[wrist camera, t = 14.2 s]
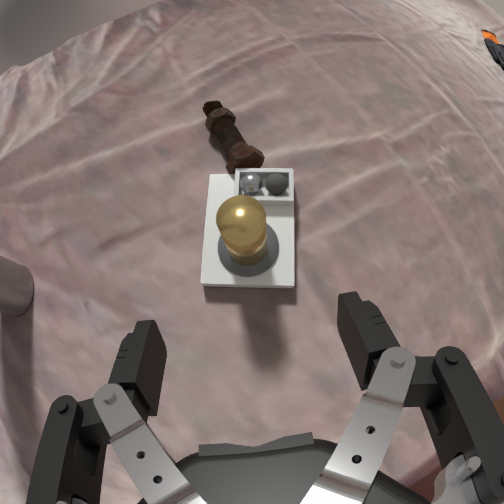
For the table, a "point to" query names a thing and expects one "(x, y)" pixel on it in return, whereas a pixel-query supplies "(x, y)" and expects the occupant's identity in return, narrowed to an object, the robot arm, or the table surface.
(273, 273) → the plate
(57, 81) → the table surface
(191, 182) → the table surface
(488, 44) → the pair of gloves
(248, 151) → the bolt
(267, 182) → the rubber ball
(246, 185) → the steel ball
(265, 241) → the ball
